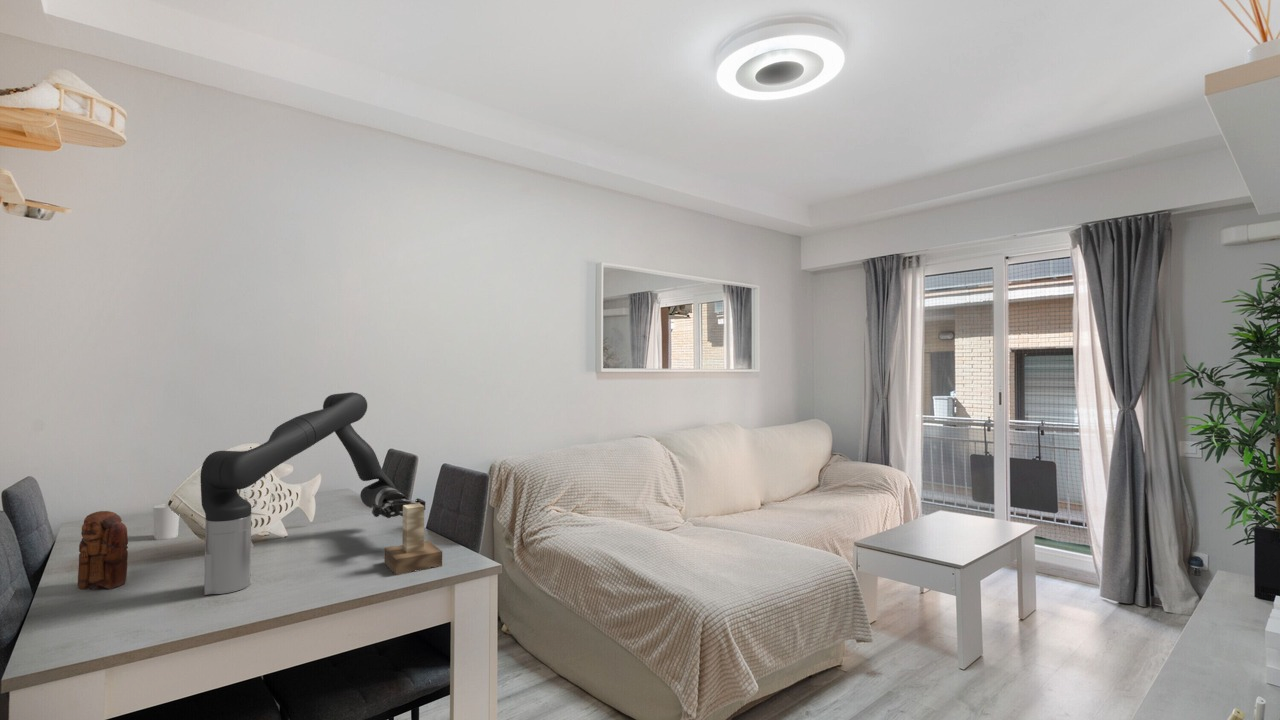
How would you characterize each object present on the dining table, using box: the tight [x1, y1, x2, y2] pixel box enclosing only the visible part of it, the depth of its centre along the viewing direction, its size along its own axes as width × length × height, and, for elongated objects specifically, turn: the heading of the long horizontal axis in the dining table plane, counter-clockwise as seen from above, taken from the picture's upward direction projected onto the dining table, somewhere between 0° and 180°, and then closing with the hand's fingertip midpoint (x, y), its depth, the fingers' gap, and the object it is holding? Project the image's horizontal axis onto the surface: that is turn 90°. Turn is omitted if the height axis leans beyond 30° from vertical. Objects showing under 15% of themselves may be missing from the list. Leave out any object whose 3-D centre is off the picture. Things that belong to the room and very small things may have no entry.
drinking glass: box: [152, 502, 180, 541], centre depth 187 cm, size 7×7×10 cm
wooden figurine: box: [77, 510, 129, 590], centre depth 146 cm, size 12×6×18 cm, turn 86°
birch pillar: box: [401, 503, 425, 553], centre depth 163 cm, size 4×4×12 cm
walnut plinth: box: [384, 540, 443, 576], centre depth 162 cm, size 12×12×4 cm
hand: (405, 512), depth 169 cm, fingers open, 8 cm apart
